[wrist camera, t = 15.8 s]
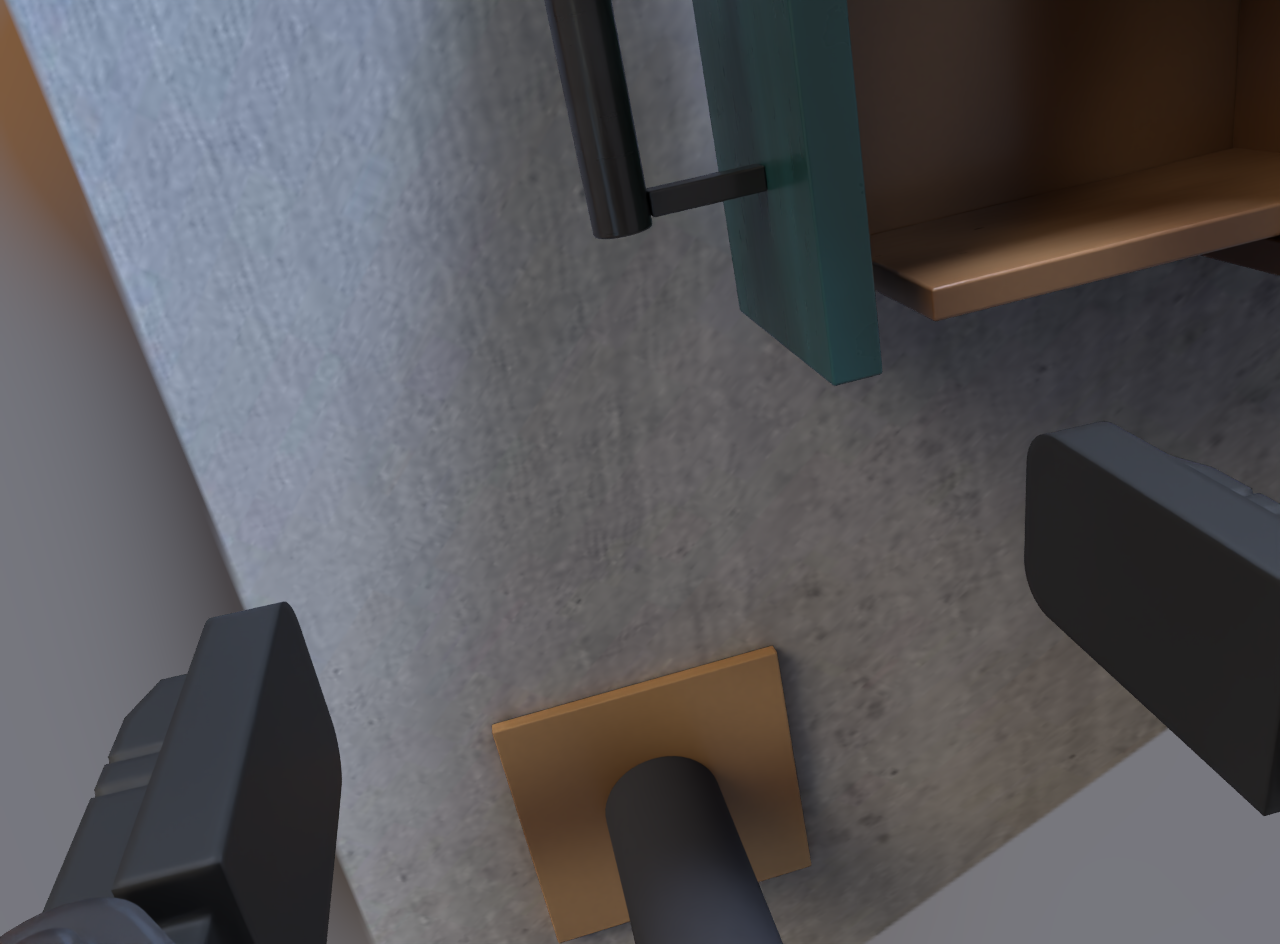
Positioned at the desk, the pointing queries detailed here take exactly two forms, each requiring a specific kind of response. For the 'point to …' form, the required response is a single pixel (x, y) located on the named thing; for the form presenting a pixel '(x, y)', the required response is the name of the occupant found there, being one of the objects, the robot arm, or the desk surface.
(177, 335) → the desk surface
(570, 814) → the pad
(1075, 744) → the desk surface
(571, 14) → the drawer
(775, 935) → the roller
